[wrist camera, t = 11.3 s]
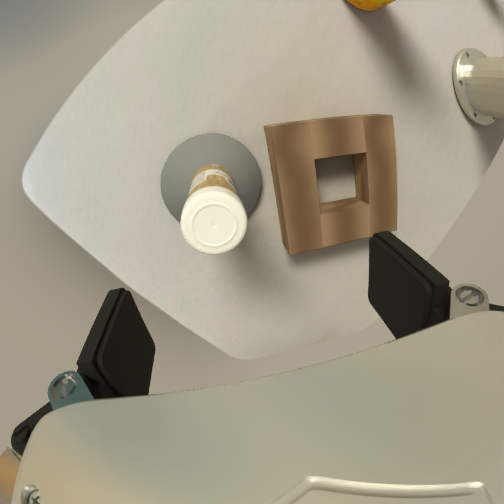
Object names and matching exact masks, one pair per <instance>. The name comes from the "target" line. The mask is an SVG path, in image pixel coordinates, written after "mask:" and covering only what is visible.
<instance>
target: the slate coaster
mask: <svg viewBox="0 0 504 504" xmlns="http://www.w3.org/2000/svg"><path fill="white" fill-rule="evenodd" d="M209 164H217V165H220V166H222V167H224V168H225V169H227V170H228V171H229V173H230V174H231V176H232V179H233V183H234V186H235V190H236V193H237V196H238V197H239V199H240V200H241V202H242V204H243V206H244V208H245V211H246V215H247V216H248V214H249V213H250V212H251V211H252V209H253V208H254V206H255V205H256V202H257V200H258V198H259V194H260V189H261V174H260V170H259V166H258V164H257V161H256V160H255V158H254V156H253V155H252V153H251V152H250V151H249V150H248V149H247V148H246V147H245V146H244V145H243V144H241V143H240V142H239V141H237V140H235V139H233V138H231V137H228V136H225V135H221V134H203V135H198V136H195V137H192V138H190V139H188V140H186V141H185V142H183V143H182V144H180V145H179V146H178V147H177V148H176V149H175V150H174V151H173V152H172V153H171V155H170V156H169V157H168V159H167V161H166V163H165V165H164V168H163V170H162V175H161V192H162V197H163V200H164V202H165V204H166V206H167V208H168V210H169V211H170V213H171V214H172V215H173V216H174V217H175V218H176V219H177V220H178V221H180V222H181V215H182V210H183V207H184V204H185V203H186V201H187V198H188V195H189V191H190V187H191V184H192V179H193V176H194V174H195V173H196V172H197V171H198V169H200V168H201V167H203V166H205V165H209Z"/></svg>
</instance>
